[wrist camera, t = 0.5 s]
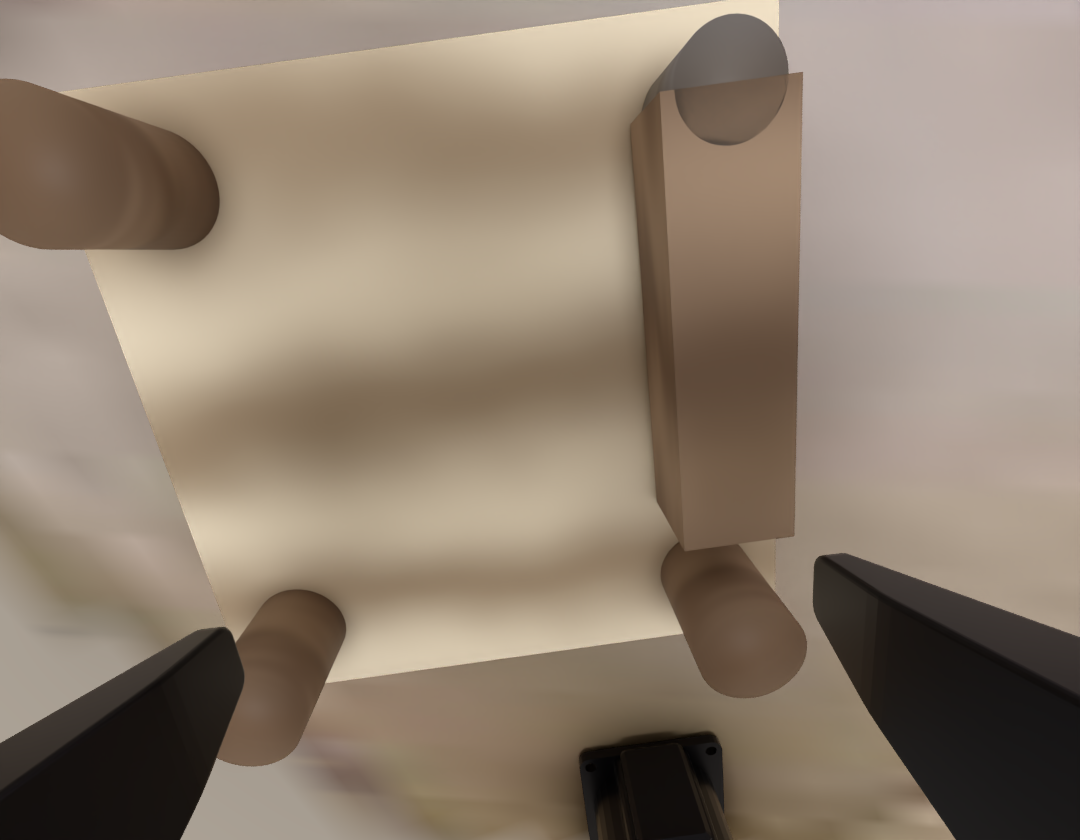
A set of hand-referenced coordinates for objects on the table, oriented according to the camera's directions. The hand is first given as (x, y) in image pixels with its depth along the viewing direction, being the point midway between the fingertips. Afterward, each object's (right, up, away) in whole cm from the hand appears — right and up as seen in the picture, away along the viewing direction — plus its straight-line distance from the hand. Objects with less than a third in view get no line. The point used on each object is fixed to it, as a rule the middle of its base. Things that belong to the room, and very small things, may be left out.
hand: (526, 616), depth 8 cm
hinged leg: (+5, +6, +7) cm, 11 cm away
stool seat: (-2, +4, +11) cm, 12 cm away
